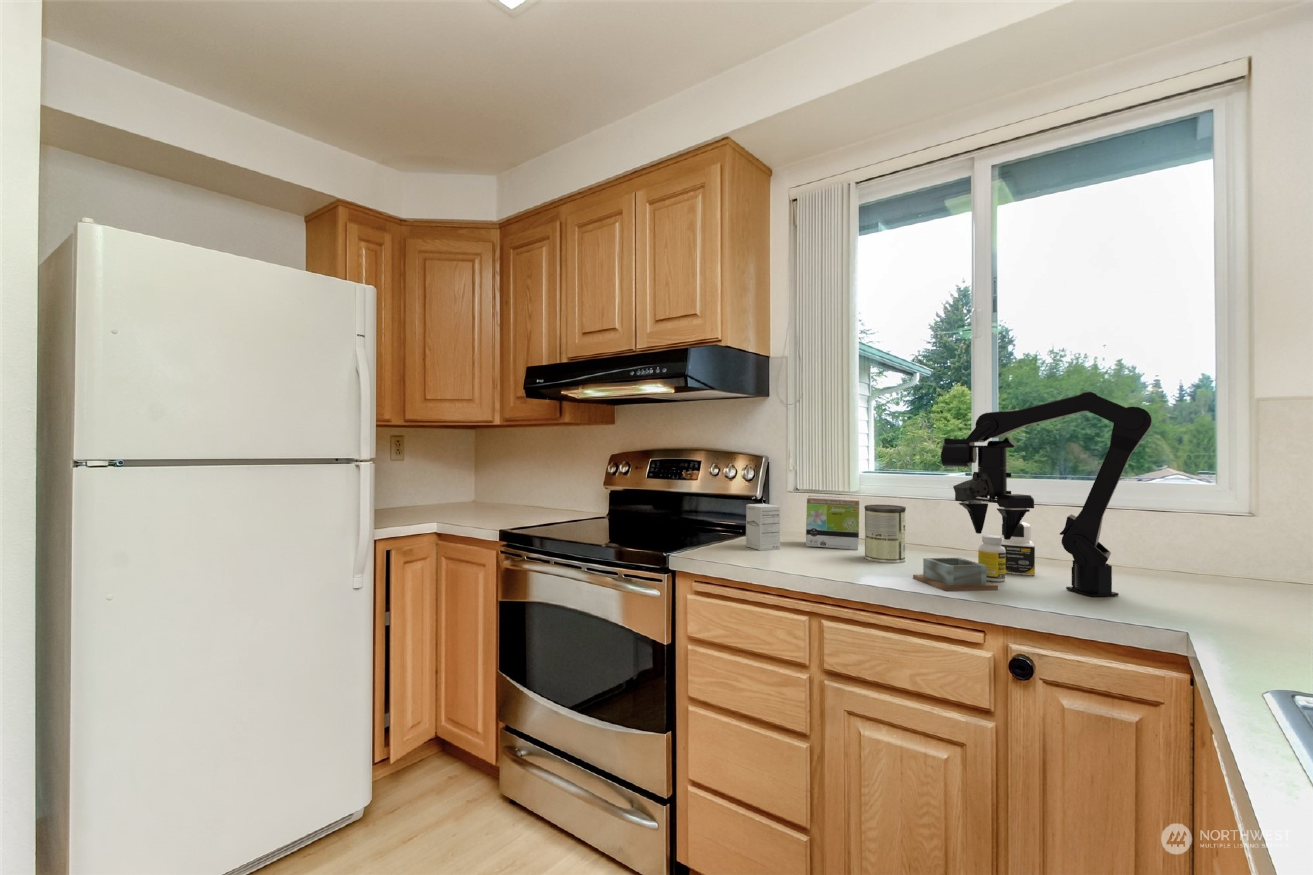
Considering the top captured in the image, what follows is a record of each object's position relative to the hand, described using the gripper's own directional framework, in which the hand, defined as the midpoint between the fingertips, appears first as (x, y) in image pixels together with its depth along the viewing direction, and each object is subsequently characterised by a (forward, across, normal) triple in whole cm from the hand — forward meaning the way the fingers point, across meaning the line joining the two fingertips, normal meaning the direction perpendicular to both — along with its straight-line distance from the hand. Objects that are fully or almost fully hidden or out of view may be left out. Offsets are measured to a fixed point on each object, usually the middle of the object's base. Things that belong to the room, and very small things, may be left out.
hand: (992, 536), depth 135 cm
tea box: (+10, -46, -17) cm, 50 cm away
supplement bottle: (+10, 0, 0) cm, 10 cm away
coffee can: (+10, -25, -12) cm, 30 cm away
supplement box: (+10, -45, -39) cm, 61 cm away
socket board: (+10, +3, -12) cm, 15 cm away
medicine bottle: (+10, -7, +12) cm, 17 cm away
